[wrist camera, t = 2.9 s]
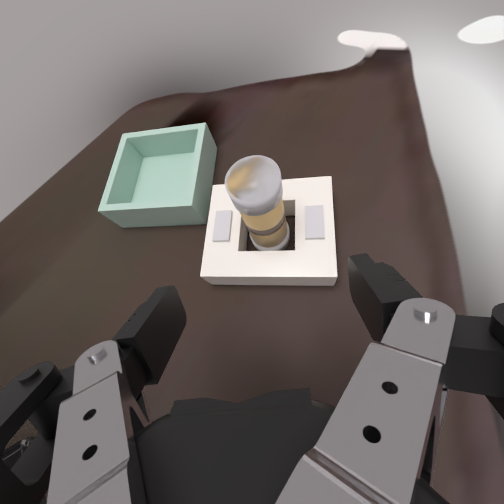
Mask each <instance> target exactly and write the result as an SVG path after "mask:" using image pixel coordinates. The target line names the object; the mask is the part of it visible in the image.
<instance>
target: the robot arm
mask: <svg viewBox="0 0 504 504" xmlns="http://www.w3.org/2000/svg"><path fill="white" fill-rule="evenodd" d="M347 263H348V274H349V285H350V292H351V297H352V300H353V302H354V304H355V306H356V308H357V310H358V312H359V314H360V316H361V318H362V319H363V321H364V323H365V325H366V327H367V329H368V331H369V333H370V335H371V337H372V339H373V341H372V342H371V343H370V345H369V346H368V348H367V350H366V352H365V354H364V356H363V358H362V360H361V361H360V363H359V365H358V367H357V369H356V371H355V373H354V375H353V376H352V378H351V380H350V382H349V384H348V386H347V388H346V390H345V391H344V393H343V395H342V397H341V399H340V401H339V403H338V405H337V406H336V407H333V406H331V405H329V404H326V403H322V402H319V401H313V400H311V395H310V390H309V388H305V389H294V390H284V391H274V392H271V393H268V394H265V395H262V396H259V397H256V398H253V399H250V400H247V401H244V402H241V403H232V402H226V401H221V400H215V399H209V398H199V399H188V400H178V401H174V404H173V407H172V409H171V412H170V414H167V415H165V416H163V417H161V418H159V419H157V420H155V421H154V422H152V419H151V416H150V412H149V408H148V405H147V401H146V397H145V395H144V393H143V391H142V389H143V387H144V385H153V384H158V382H159V380H160V378H161V376H162V374H163V372H164V369H165V367H166V365H167V363H168V361H169V359H170V357H171V355H172V353H173V351H174V348H175V346H176V344H177V342H178V340H179V338H180V336H181V334H182V332H183V330H184V327H185V325H186V313H185V310H184V307H183V305H182V302H181V300H180V297H179V294H178V292H177V290H176V288H175V287H174V286H167V287H161V288H157V289H156V290H155V291H154V292H153V294H152V295H151V296H150V297H149V299H148V300H147V301H146V302H144V303H143V304H142V305H140V306H139V307H138V308H137V310H136V311H135V312H134V313H133V316H131V317H130V318H129V319H128V322H126V323H125V324H124V325H123V327H122V328H121V329H120V330H119V332H118V333H117V334H116V335H115V336H114V338H113V339H112V340H110V341H104V342H101V343H99V344H96V345H95V346H93V347H91V348H89V349H88V350H87V351H85V352H84V353H83V354H82V355H81V356H80V357H79V358H78V360H77V361H76V363H75V365H74V366H71V367H68V368H66V369H63V370H60V371H59V370H58V369H57V367H56V366H55V364H54V363H53V362H51V361H46V362H42V363H39V364H37V365H34V366H32V367H30V368H29V369H27V370H25V371H24V372H22V373H21V374H19V375H18V376H17V377H16V378H15V379H13V380H12V381H11V382H10V383H9V384H8V385H7V386H6V387H5V388H4V389H3V390H2V391H1V392H0V504H39V503H40V502H41V500H42V498H43V497H44V495H45V493H46V492H47V490H48V489H49V491H48V498H47V504H450V503H448V502H447V501H446V500H445V499H444V498H443V497H442V496H441V495H439V494H438V493H437V492H436V491H435V490H434V489H433V488H432V482H433V476H434V470H435V464H436V457H437V449H438V443H439V437H440V432H441V427H442V422H443V416H444V411H445V406H446V401H447V395H448V390H449V389H452V390H458V391H464V392H470V393H475V394H481V395H485V396H486V397H487V399H488V400H489V401H490V402H491V404H492V405H493V406H494V408H495V409H496V410H497V411H498V413H499V414H500V415H501V416H502V418H503V419H504V303H502V304H498V305H497V306H495V307H494V308H493V309H492V315H491V317H476V316H462V315H456V314H455V313H454V311H453V310H452V309H451V308H450V307H449V306H447V305H446V304H444V303H442V302H439V301H436V300H432V299H427V298H423V297H422V296H421V295H420V294H419V293H418V292H417V291H416V290H415V289H414V288H413V287H412V286H411V285H410V284H409V283H408V282H407V281H405V279H404V278H403V277H402V276H401V275H400V274H399V273H398V272H397V271H396V270H395V269H394V268H393V267H392V266H389V265H387V264H385V263H382V262H381V263H375V262H374V261H373V260H372V259H371V258H370V257H369V256H368V254H366V253H365V254H360V255H354V256H348V258H347ZM27 419H28V420H29V421H30V422H31V424H32V425H33V426H34V427H35V428H36V430H37V431H38V432H39V433H38V434H37V436H36V437H35V438H34V440H33V441H32V442H31V444H30V445H29V446H28V448H27V449H26V450H25V451H24V453H23V454H22V455H21V457H20V458H19V459H18V461H17V462H16V463H15V465H14V466H13V467H12V469H11V470H10V469H9V468H8V467H7V466H6V465H5V464H4V462H3V459H2V455H3V451H4V448H5V446H6V445H7V443H8V442H9V440H10V439H11V438H12V437H13V436H14V435H15V433H16V432H17V431H18V430H19V429H20V427H21V426H22V425H23V424H24V423H25V421H26V420H27Z"/></svg>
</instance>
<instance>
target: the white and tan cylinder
mask: <svg viewBox="0 0 504 504" xmlns="http://www.w3.org/2000/svg"><path fill="white" fill-rule="evenodd" d="M225 188H226V190H227V193H228V195H229V197H230V198H231V200H232V202H233V204H234V206H235V208H236V209H237V210H238V211H239V212H240V214H241V216H242V218H243V221H244V223H245V225H246V227H247V229H248V231H249V233H250V238H251V240H252V242H253V244H254V246H255V248H256V249H257V251H284V250H285V249H286V248H287V247H288V245H289V243H290V232H289V226H288V223H287V221H286V217H285V210H284V205H283V199H282V195H283V187H282V180H281V174H280V169H279V167H278V165H277V164H276V163H275V162H274V161H273V160H272V159H270V158H268V157H265V156H259V155H255V156H249V157H245V158H243V159H241V160H239V161H237V162H236V163H235V164H234V165H233V166H232V167H231V168H230V169H229V171H228V172H227V174H226V177H225Z"/></svg>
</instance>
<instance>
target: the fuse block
mask: <svg viewBox="0 0 504 504" xmlns="http://www.w3.org/2000/svg"><path fill="white" fill-rule="evenodd" d="M282 187H283V195H282V199H283V205H284V210H285V216H292V215H295V250H290V251H246V248H247V235H248V229H247V227H246V225H245V223H244V221H243V218H242V216H241V214H240V212H239V211H238V210H237V209H236V208H235V206H234V204H233V202H232V200H231V198H230V197H229V195H228V193H227V190H226V188H225V184H222V185H213V188H212V195H211V203H210V210H209V217H208V224H207V231H206V238H205V245H204V252H203V259H202V267H201V274H200V277H202V278H203V279H204V280H206V281H207V282H209V283H210V284H212V285H300V286H334V285H335V282H336V279H337V263H336V246H335V230H334V214H333V197H332V181H331V176H325V177H312V178H299V179H287V180H282Z"/></svg>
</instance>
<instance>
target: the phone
mask: <svg viewBox="0 0 504 504" xmlns="http://www.w3.org/2000/svg"><path fill="white" fill-rule="evenodd" d="M33 440H34V437H30V438H27V439H24V440H21V441H19V442H17V443H15V444H14V445H12V446H10V447H9V448H7V449H5V450H4V451H3V455H2V459H3V462H4V464H5V465H6V466H7V467H8V468H9V469H10V470H11V469H12V467H13V466H14V465H15V463H16V462H17V461H18V459H19V458H20V457H21V455H22V454H23V453H24V451H25V450H26V449H27V448H28V446H29V445H30V444H31V442H32V441H33ZM39 504H46V499H45V495H44V497H43V498H42V500H41V502H40V503H39Z"/></svg>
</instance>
